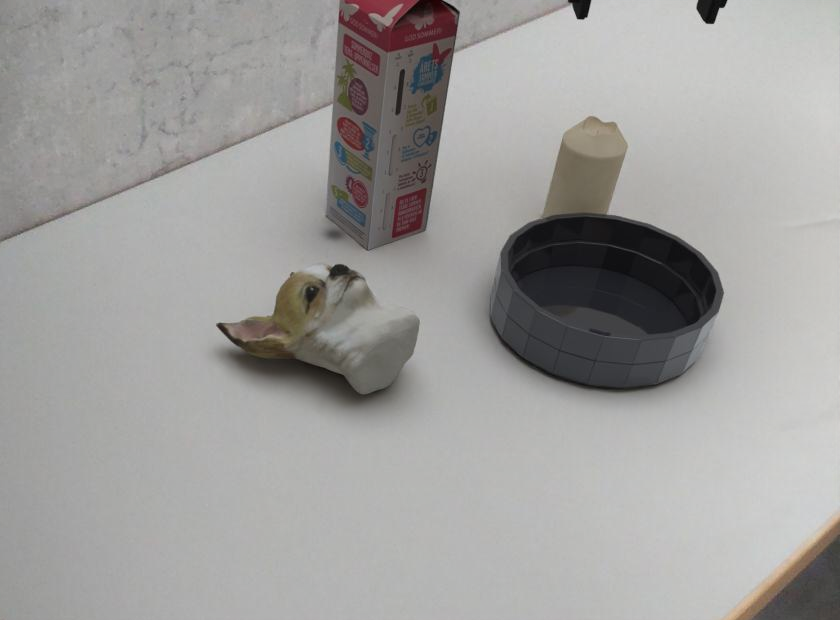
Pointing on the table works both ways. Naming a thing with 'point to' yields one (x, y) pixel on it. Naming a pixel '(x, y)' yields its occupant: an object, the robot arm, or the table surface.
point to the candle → (586, 168)
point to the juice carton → (388, 115)
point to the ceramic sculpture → (332, 327)
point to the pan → (604, 299)
